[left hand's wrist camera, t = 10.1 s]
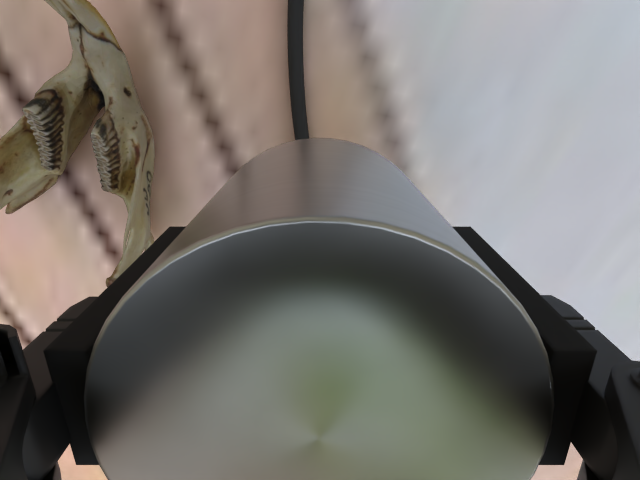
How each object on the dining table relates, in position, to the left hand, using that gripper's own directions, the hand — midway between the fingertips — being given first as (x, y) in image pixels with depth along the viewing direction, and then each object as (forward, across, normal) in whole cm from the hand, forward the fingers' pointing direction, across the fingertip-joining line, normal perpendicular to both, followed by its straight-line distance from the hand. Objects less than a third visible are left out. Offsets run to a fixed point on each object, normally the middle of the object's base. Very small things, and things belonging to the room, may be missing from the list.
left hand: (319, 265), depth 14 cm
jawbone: (+14, -13, +3) cm, 19 cm away
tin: (+1, 0, 0) cm, 1 cm away
